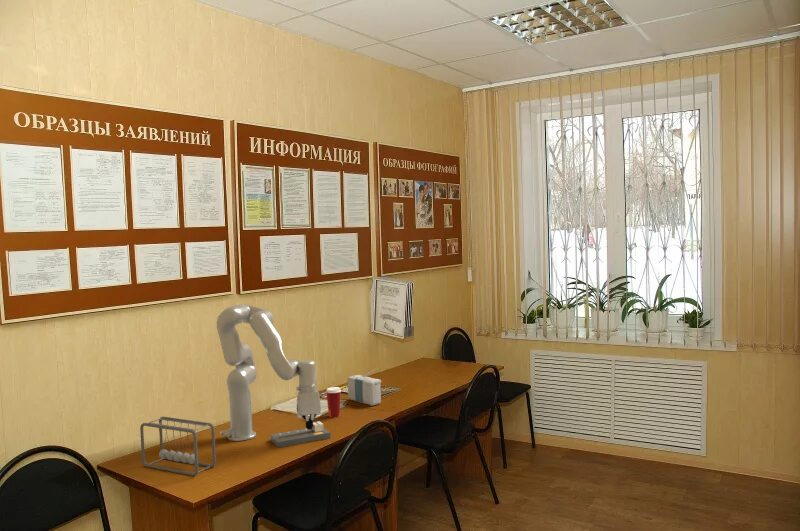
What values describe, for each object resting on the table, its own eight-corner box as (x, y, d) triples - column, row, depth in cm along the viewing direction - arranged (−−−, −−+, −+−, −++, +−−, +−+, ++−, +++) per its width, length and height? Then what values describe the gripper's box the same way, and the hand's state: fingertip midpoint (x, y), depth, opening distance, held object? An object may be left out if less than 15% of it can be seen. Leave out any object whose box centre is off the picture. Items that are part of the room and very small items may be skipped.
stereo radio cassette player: (347, 400, 339) (346, 364, 338) (359, 397, 344) (358, 362, 343) (371, 407, 323) (369, 369, 322) (383, 404, 328) (381, 367, 328)
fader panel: (277, 447, 263) (277, 441, 263) (270, 440, 273) (270, 434, 273) (330, 438, 274) (330, 432, 273) (321, 431, 284) (321, 425, 284)
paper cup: (345, 415, 310) (344, 387, 309) (335, 419, 303) (334, 391, 303) (332, 413, 314) (331, 386, 313) (323, 417, 307) (322, 389, 307)
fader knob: (315, 432, 274) (314, 425, 274) (311, 429, 278) (311, 422, 278) (323, 430, 276) (323, 423, 276) (319, 427, 280) (319, 421, 280)
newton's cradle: (141, 466, 246) (139, 422, 245) (162, 457, 255) (160, 415, 255) (197, 477, 233) (194, 430, 232) (216, 467, 242) (214, 423, 241)
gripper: (294, 392, 268) (295, 433, 268) (326, 387, 274) (328, 428, 275) (289, 389, 274) (290, 429, 275) (320, 384, 281) (322, 424, 282)
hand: (309, 428), depth 275 cm, fingers closed
